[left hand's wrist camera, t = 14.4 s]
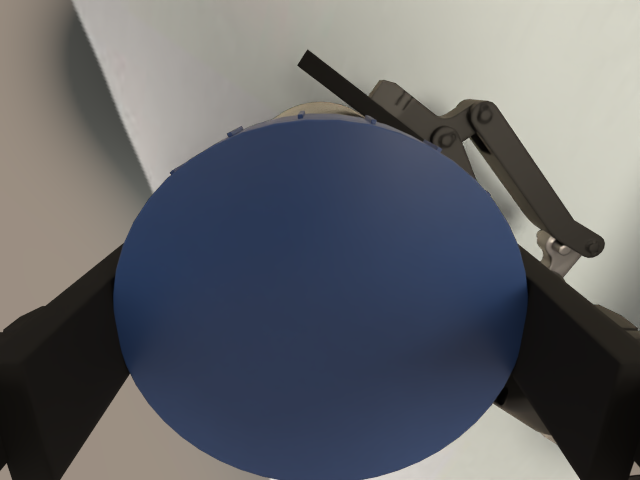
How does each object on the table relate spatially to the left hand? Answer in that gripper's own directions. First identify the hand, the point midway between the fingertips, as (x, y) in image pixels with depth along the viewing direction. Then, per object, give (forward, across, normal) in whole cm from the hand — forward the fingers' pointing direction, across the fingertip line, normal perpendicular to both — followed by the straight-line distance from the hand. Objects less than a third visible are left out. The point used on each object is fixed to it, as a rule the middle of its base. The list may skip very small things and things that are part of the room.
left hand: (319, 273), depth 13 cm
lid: (-3, 0, 0) cm, 3 cm away
